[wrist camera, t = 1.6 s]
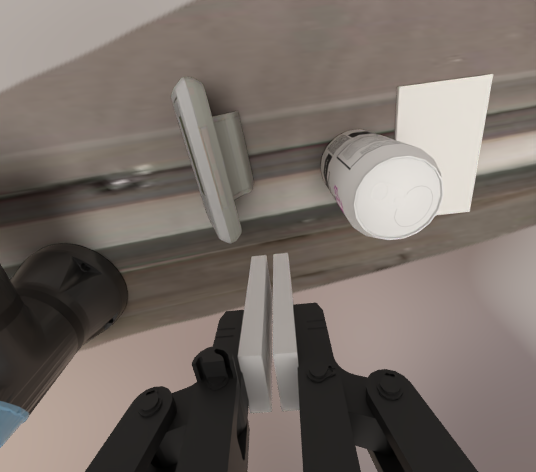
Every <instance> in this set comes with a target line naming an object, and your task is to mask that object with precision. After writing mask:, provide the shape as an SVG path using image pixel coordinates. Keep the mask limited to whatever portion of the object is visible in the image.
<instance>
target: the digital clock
mask: <svg viewBox="0 0 536 472" xmlns="http://www.w3.org/2000/svg"><path fill="white" fill-rule="evenodd" d="M171 99H172V102H173V107H174V110H175V113H176V117H177V120H178V123H179V126H180V130H181V133H182V136H183V139H184V142H185V146H186V149H187V152H188V155H189V159H190V162H191V165H192V168H193V171H194V175H195V178H196V181H197V184H198V188H199V191H200V194H201V197H202V200H203V204H204V207H205V210H206V213H207V215H208V217H209V219H210V221H211V223H212V225H213V227H214V229H215V231H216V233H217V235H218V237H219V239H220V240H222V241H225V242H228V243H233V242H235V241H236V240H237V239H238V238H239V237H240V235H241V233H242V229H241V225H240V221H239V217H238V213H237V209H236V205H235V202H234V200H235V199H237V198H238V197H240V196H242V195H244V194H247V193H250V192H251V191H252V189H253V185H254V179H253V175H252V171H251V166H250V162H249V158H248V153H247V149H246V144H245V140H244V136H243V131H242V127H241V122H240V118H239V114H238V111H234V112H230V113H225V114H221V115H217V116H212V114H211V111H210V107H209V103H208V99H207V96H206V92H205V89H204V86H203V84H202V83H201V82H200V81H198V80H196V79H194V78H192V77H182V78H181V79H180V80H179V82H178V83H177V84H176V86H175V87H174V89H173V92H172V95H171Z"/></svg>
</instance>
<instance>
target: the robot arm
mask: <svg viewBox="0 0 536 472" xmlns="http://www.w3.org/2000/svg"><path fill="white" fill-rule="evenodd" d="M272 300H273V358H274V365H275V370H276V378H277V384H278V390H279V396H280V402H281V409H282V411H293V410H300V423H301V440H302V457H303V472H361V470H360V466H359V461H358V457H357V452H356V447H355V445H356V446H359V447H362V448H366V449H367V450H368V452H369V454H370V456H371V458H372V461H373V463H374V465H375V467H376V469H377V471H378V472H478V471H477V470H476V469H475V467H474V466H473V464H472V463H471V462H470V460H469V459H468V458H467V456H466V455H465V454H464V453H463V451H462V450H461V448H460V447H459V446H458V445H457V443H456V442H455V441H454V439H453V438H452V437H451V435H450V434H449V433H448V431H447V430H446V429H445V427H444V426H443V425H442V423H441V422H440V421H439V419H438V418H437V417H436V416H435V414H434V413H433V412H432V410H431V409H430V408H429V406H428V405H427V404H426V402H425V401H424V400H423V398H422V397H421V396H420V394H419V393H418V392H417V390H416V389H415V388H414V386H413V385H412V384H411V382H410V381H408V379H406V378H405V377H404V376H403V375H401V374H399V373H397V372H396V371H391V370H387V369H384V370H377V371H375V372H373V373H371V374H370V375H369V377H368V378H367V377H363V376H358V375H354V374H351V373H348V372H346V371H345V370H343V369H342V368H341V367H340V366H339V365H338V364H337V363H336V361H335V359H334V357H333V352H332V348H331V344H330V339H329V335H328V330H327V326H326V322H325V317H324V313H323V310H322V309H321V308H320V306H319V305H318V304H317V303H307V304H296V305H293V295H292V285H291V276H290V267H289V258H288V253H282V254H273V298H272V291H271V284H270V277H269V270H268V263H267V256H266V255H262V256H252V259H251V266H250V273H249V280H248V287H247V294H246V301H245V308H244V310H237V311H226V312H225V314H224V315H223V316H222V317H221V319H220V320H219V324H218V328H217V332H216V336H215V340H214V344H213V347H209V348H206V349H205V350H203V351H201V352H200V353H199V354H198V355H197V356H196V357H195V358H194V360H193V362H192V366H193V370H194V373H195V376H196V379H197V382H196V383H195V384H193V385H192V386H190V387H187V388H185V389H182V390H180V391H177V392H174V393H171V392H170V390H169V389H168V388H165V387H162V386H161V387H153V388H150V389H148V390H146V391H144V392H143V393H141V394H140V395H139V396H138V397H137V398H136V399H135V400H134V401H133V402H132V404H131V405H130V407H129V408H128V410H127V411H126V413H125V414H124V415H123V417H122V418H121V420H120V421H119V423H118V424H117V426H116V427H115V429H114V430H113V432H112V433H111V434H110V436H109V437H108V439H107V441H106V442H105V443H104V445H103V446H102V448H101V449H100V451H99V452H98V454H97V455H96V456H95V458H94V459H93V461H92V462H91V464H90V465H89V467H88V468H87V469H86V471H85V472H247V468H248V449H249V431H250V429H249V423H248V418H247V417H248V406H249V409H250V413H262V412H272ZM126 304H127V288H126V285H125V282H124V280H123V278H122V276H121V275H120V273H119V272H118V270H117V269H116V268H115V267H114V266H113V265H112V264H111V263H110V262H109V261H108V260H107V259H105V258H104V257H103V256H101V255H99V254H98V253H96V252H94V251H92V250H90V249H87V248H85V247H82V246H78V245H73V244H54V245H50V246H47V247H44V248H42V249H41V250H39V251H37V252H36V253H34V254H33V255H31V256H30V257H28V258H27V259H26V260H25V261H24V262H23V263H22V264H21V266H20V267H19V269H18V271H17V272H16V274H15V275H14V276H13V278H12V279H11V280H10V279H9V278H8V276H7V274H6V273H5V271H4V269H3V268H2V266H1V264H0V448H1V446H3V444H4V443H5V442H6V441H7V440H8V439H9V438H10V436H11V435H12V434H13V433H14V432H15V431H16V429H17V428H18V427H19V426H20V425H21V424H22V423H24V422H25V421H26V420H27V418H28V417H29V415H30V414H31V412H32V411H33V410H34V408H35V407H36V406H37V404H38V403H39V402H40V400H41V399H42V398H43V396H44V395H45V394H46V392H47V391H48V390H49V388H50V387H51V386H52V384H53V383H54V382H55V381H56V379H57V378H58V377H59V375H60V374H61V373H62V371H63V370H64V369H65V367H66V366H67V365H68V363H69V362H70V361H71V359H72V358H73V356H74V355H75V354H76V353H77V351H78V350H79V349H80V348H81V346H82V345H84V344H85V343H87V342H88V341H90V340H91V339H93V338H94V337H96V336H97V335H99V334H100V333H102V332H103V331H105V330H106V329H108V328H109V327H110V326H112V325H113V324H114V323H115V322H116V320H117V319H118V318H119V316H120V315H121V313H122V312H123V310H124V309H125V307H126Z"/></svg>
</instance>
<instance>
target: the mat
mask: <svg viewBox="0 0 536 472" xmlns="http://www.w3.org/2000/svg"><path fill="white" fill-rule="evenodd" d="M492 77H493V74H490V75H483V76H475V77H468V78H460V79H453V80H446V81H438V82H431V83H424V84H416V85H409V86H401V87H397V99H396V118H395V137H394V140H397V141H400V142H403V143H406V144H409V145H412V146H415V147H418V148H421V149H422V150H423V151H425V152H426V153H427V154H428V155H430V156H431V157H432V158H433V159H434V160H435V162H436V164H437V166H438V168H439V170H440V172H441V178H442V180H443V192H444V196H443V200H442V203H441V206H440V209H439V211H438V212H437V214H436V215H442V214H452V213H461V212H470V206H471V200H472V194H473V189H474V183H475V177H476V171H477V165H478V159H479V153H480V148H481V142H482V136H483V130H484V124H485V118H486V112H487V107H488V101H489V95H490V89H491V83H492Z"/></svg>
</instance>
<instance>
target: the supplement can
mask: <svg viewBox="0 0 536 472" xmlns="http://www.w3.org/2000/svg"><path fill="white" fill-rule="evenodd" d="M321 173H322V177H323V180H324V182H325V183H326V185H327V187H328V188H329V190H330V192H331V193H332V195H333V196H334V198H335V200H336V201H337V203H338V205H339V206H340V208H341V210H342V211H343V213H344V214H345V216H346V217H347V219H348V220H349V222H350V223H351V225H352V226H353V228H355V229H356V230H358V231H359V232H361V233H362V234H364V235H365V236H370V237H374V238H378V239H386V240H394V239H403V238H406V237H408V236H411V235H413V234H416V233H418V232H419V231H420V230H422V229H423V228H424V227H426V226H427V225H428V224H429V223H430V222H431V221H432V219H433V218H434V217H435V215H436V214H437V212H438V211H439V209H440V206H441V203H442V200H443V196H444V192H443V180H442V178H441V172H440V170H439V168H438V166H437V164H436V162H435V160H434V159H433V158H432V157H431V156H430V155H428V154H427V153H426V152H425V151H423V150H422V149H421V148H418V147H415V146H412V145H409V144H406V143H403V142H400V141H397V140H394V139H391V138H388V137H385V136H382V135H379V134H376V133H373V132H369V131H366V130H362V129H358V130H349V131H346V132H344V133H342V134H340V135H338V136H337V137H336V138H335V139H334V140H333V141H332V142H331V143H330V144H329V145H328V146H327V148H326V150H325V152H324V154H323V156H322V161H321Z"/></svg>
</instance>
